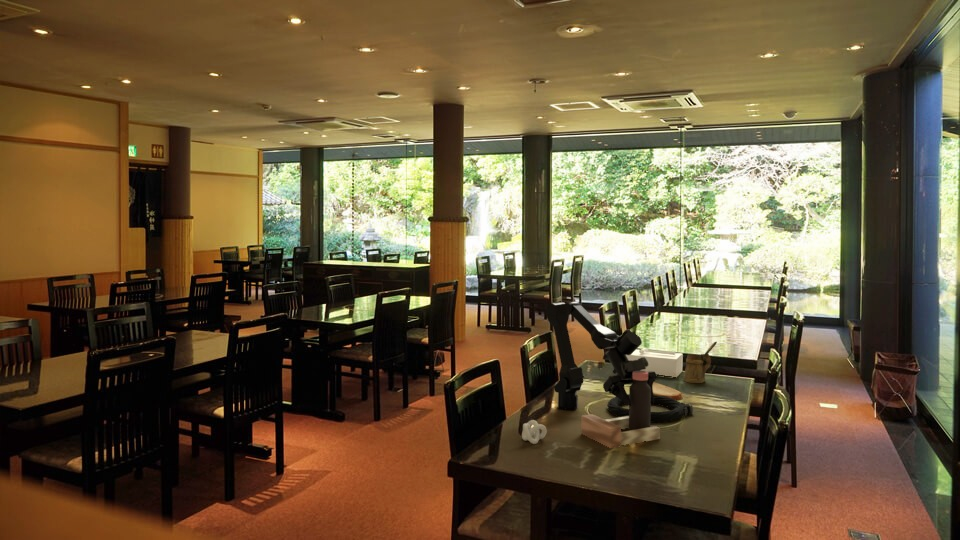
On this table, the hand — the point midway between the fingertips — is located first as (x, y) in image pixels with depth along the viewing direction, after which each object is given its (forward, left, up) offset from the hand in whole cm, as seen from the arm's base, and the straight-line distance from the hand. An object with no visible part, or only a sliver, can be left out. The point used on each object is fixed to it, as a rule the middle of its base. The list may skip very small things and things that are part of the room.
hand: (642, 403), depth 202 cm
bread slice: (+2, +54, -11) cm, 55 cm away
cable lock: (0, +27, -11) cm, 29 cm away
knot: (-32, -18, -10) cm, 38 cm away
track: (-6, -5, -10) cm, 13 cm away
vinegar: (-1, +1, -10) cm, 10 cm away
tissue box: (-4, +93, -10) cm, 94 cm away
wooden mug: (+17, +81, -10) cm, 83 cm away
